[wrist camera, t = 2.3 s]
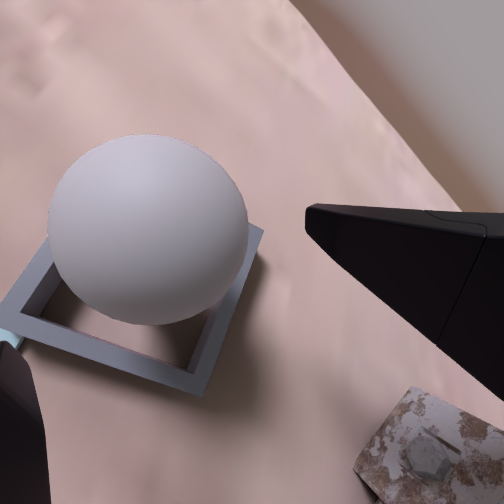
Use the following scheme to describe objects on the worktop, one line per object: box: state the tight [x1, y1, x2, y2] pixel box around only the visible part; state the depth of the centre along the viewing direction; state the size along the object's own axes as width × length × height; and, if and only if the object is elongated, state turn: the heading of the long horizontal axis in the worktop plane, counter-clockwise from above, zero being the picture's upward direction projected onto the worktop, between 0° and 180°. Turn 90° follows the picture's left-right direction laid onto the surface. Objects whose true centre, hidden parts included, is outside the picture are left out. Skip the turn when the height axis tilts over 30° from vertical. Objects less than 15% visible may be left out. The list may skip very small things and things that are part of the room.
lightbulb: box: [47, 134, 249, 326], centre depth 12 cm, size 6×6×11 cm
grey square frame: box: [0, 222, 264, 398], centre depth 16 cm, size 10×10×2 cm
